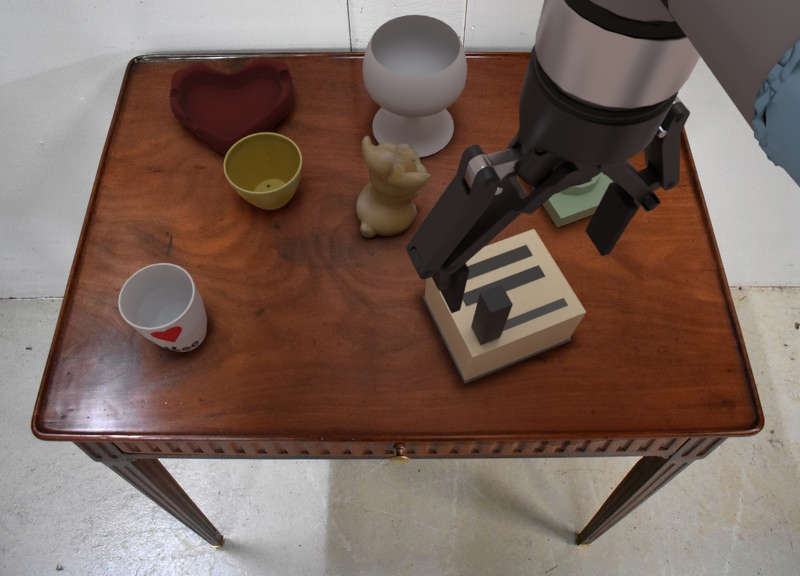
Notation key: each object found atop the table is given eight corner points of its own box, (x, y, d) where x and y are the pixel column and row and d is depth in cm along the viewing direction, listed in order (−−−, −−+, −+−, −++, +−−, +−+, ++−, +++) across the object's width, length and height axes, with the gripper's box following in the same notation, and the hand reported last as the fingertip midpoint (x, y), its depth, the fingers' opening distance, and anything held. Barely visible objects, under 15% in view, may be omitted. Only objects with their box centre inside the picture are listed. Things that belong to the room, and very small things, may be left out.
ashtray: (174, 171, 85) (162, 147, 80) (180, 89, 92) (169, 63, 88) (299, 159, 86) (294, 134, 82) (294, 79, 94) (289, 53, 89)
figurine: (431, 197, 83) (438, 119, 70) (424, 248, 79) (430, 176, 66) (362, 189, 83) (355, 111, 70) (352, 240, 79) (343, 167, 66)
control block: (620, 204, 82) (630, 186, 79) (557, 227, 80) (564, 210, 77) (575, 143, 87) (583, 124, 84) (515, 163, 86) (520, 144, 82)
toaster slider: (500, 337, 64) (513, 304, 57) (480, 345, 63) (490, 313, 56) (490, 319, 65) (501, 284, 58) (470, 326, 64) (479, 292, 57)
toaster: (570, 341, 73) (589, 312, 65) (464, 384, 70) (471, 359, 63) (522, 260, 78) (535, 226, 71) (422, 298, 75) (424, 266, 68)
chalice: (462, 97, 92) (473, 12, 78) (456, 168, 85) (467, 88, 72) (372, 90, 92) (368, 4, 79) (360, 160, 86) (353, 79, 73)
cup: (141, 355, 72) (104, 320, 63) (169, 297, 75) (138, 256, 66) (203, 370, 71) (176, 336, 62) (229, 310, 74) (206, 271, 66)
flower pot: (323, 187, 84) (317, 153, 77) (278, 237, 80) (268, 205, 73) (268, 156, 86) (257, 121, 80) (221, 203, 82) (207, 170, 76)
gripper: (764, -45, 33) (630, 187, 52) (343, 77, 29) (364, 282, 47) (859, 42, 30) (680, 255, 49) (403, 195, 25) (400, 365, 44)
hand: (524, 269), depth 48 cm, fingers open, 13 cm apart
